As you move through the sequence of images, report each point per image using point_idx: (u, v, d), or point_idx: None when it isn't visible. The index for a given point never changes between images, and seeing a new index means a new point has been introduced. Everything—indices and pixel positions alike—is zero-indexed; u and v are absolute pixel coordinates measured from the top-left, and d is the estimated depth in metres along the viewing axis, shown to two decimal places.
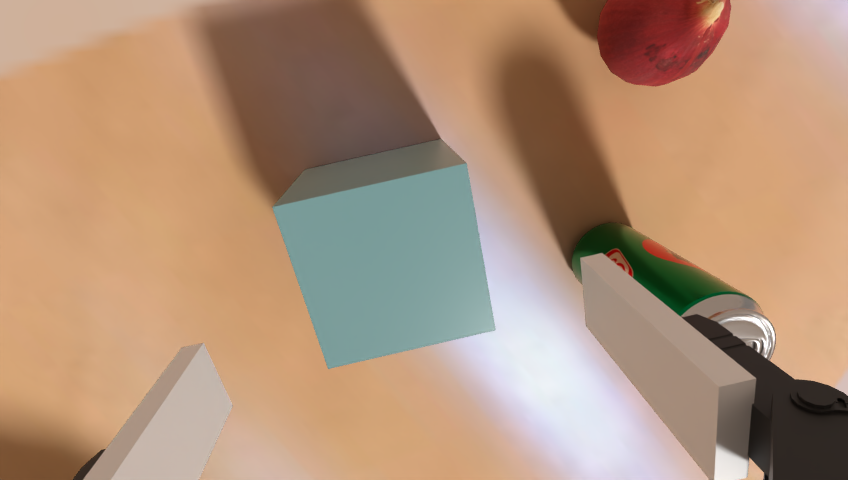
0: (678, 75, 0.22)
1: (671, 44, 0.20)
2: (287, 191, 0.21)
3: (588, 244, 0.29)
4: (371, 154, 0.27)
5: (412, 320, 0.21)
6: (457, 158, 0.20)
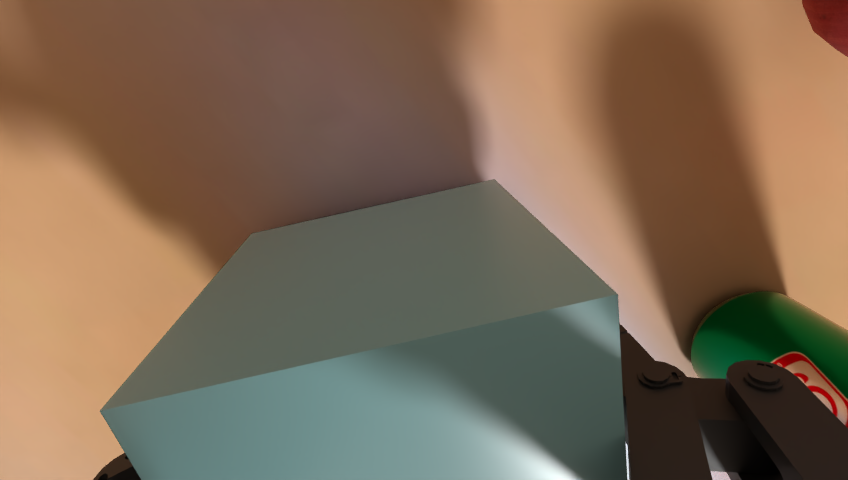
0: None
1: None
2: (181, 320, 0.10)
3: (729, 329, 0.18)
4: (370, 207, 0.15)
5: None
6: (572, 261, 0.08)
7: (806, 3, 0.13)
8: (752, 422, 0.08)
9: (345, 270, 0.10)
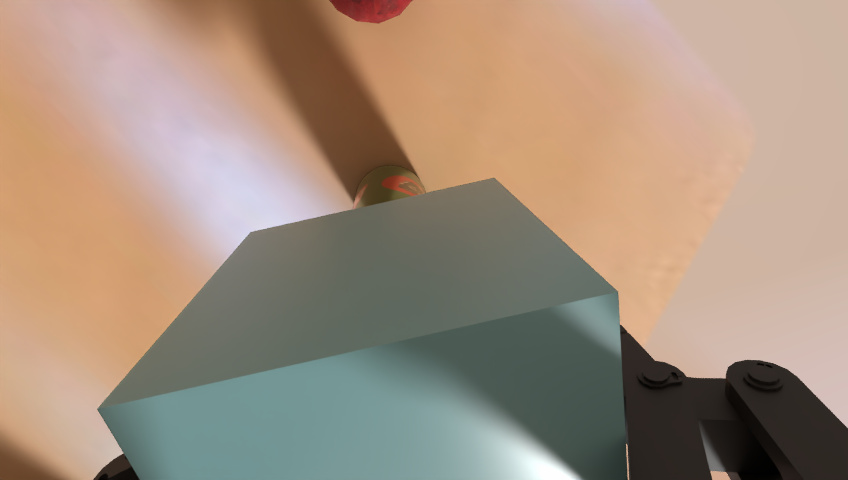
0: (378, 8, 0.23)
1: None
2: (179, 318, 0.10)
3: (360, 184, 0.30)
4: None
5: None
6: (573, 259, 0.08)
7: None
8: (752, 422, 0.08)
9: (344, 268, 0.10)
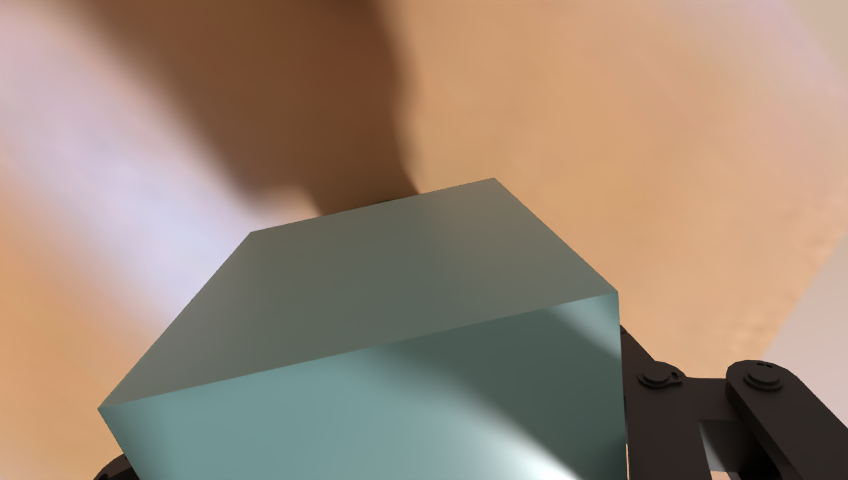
0: None
1: None
2: (179, 318, 0.10)
3: None
4: None
5: None
6: (573, 259, 0.08)
7: None
8: (752, 422, 0.08)
9: (344, 268, 0.10)
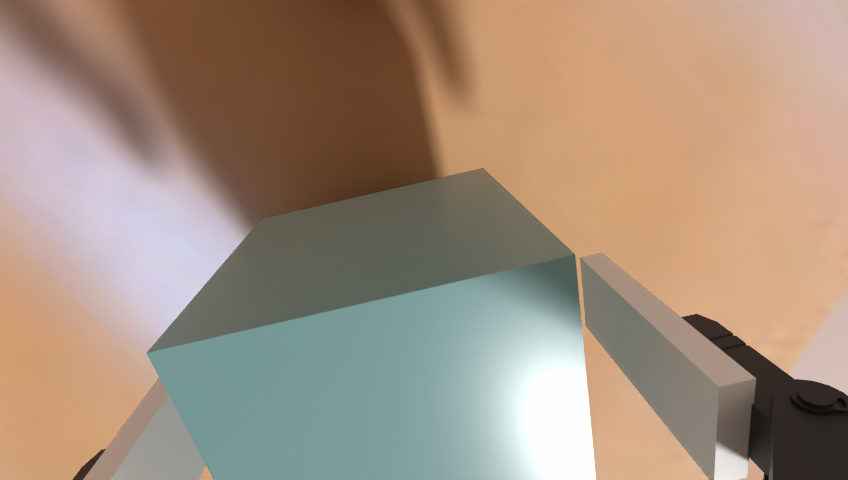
0: None
1: None
2: (206, 287, 0.11)
3: None
4: None
5: None
6: (542, 232, 0.10)
7: None
8: None
9: (348, 245, 0.12)
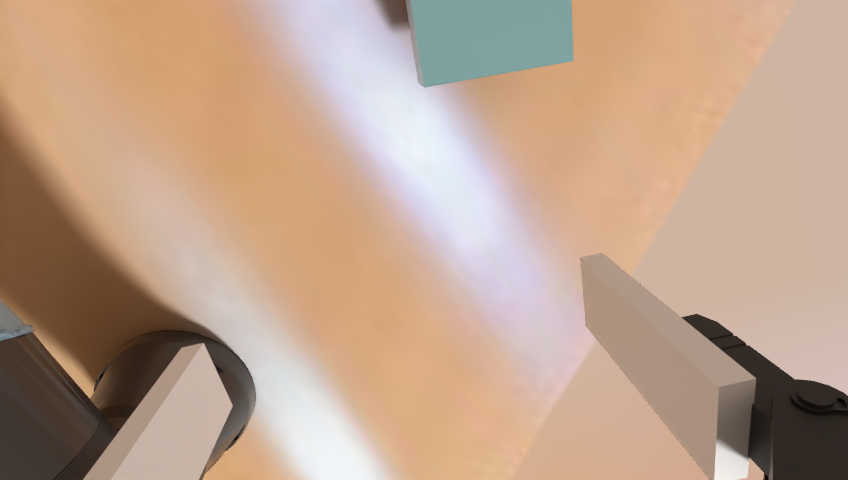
0: None
1: None
2: None
3: None
4: None
5: (502, 42, 0.24)
6: None
7: None
8: None
9: None
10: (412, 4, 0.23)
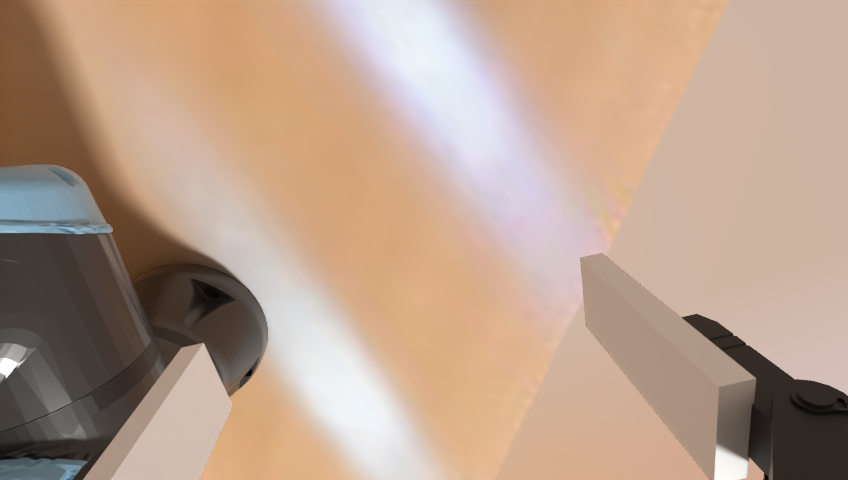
0: None
1: None
2: None
3: None
4: None
5: None
6: None
7: None
8: None
9: None
10: None
